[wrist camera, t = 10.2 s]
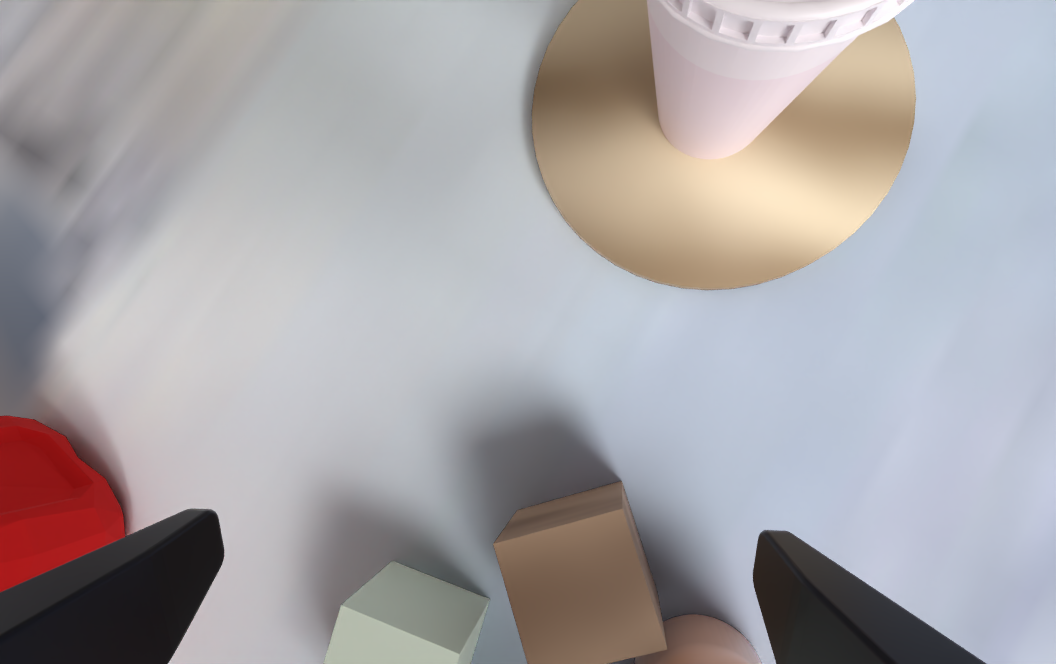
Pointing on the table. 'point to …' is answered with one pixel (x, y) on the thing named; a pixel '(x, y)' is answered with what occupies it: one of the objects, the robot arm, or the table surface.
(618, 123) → the gold metal coaster
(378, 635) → the sage block
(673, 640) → the peach rounded capsule
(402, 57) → the table surface
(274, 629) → the table surface
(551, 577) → the walnut block
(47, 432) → the water bottle
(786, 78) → the smoothie
